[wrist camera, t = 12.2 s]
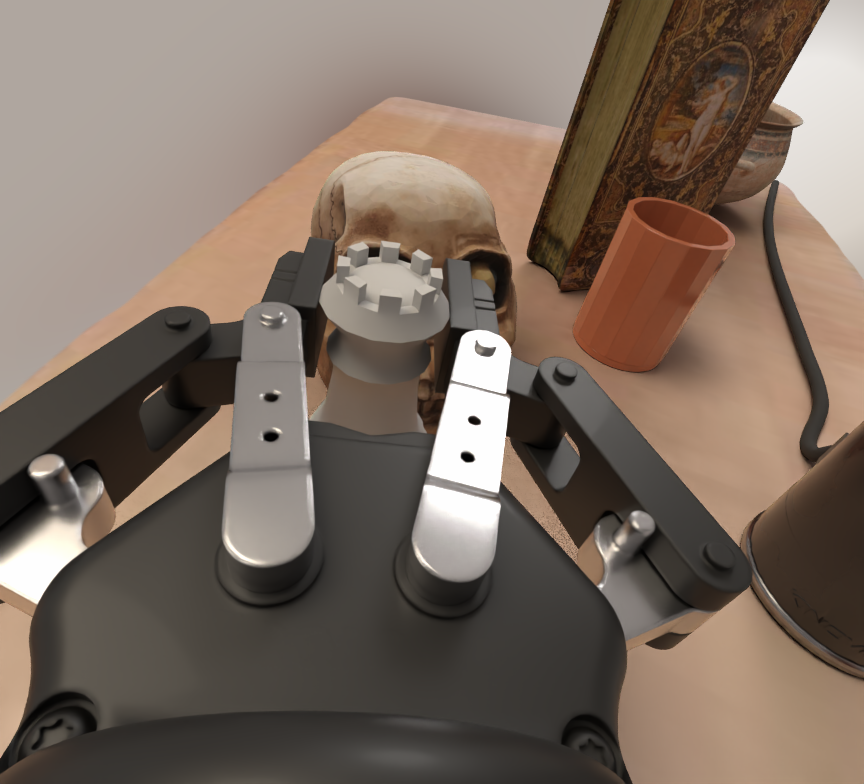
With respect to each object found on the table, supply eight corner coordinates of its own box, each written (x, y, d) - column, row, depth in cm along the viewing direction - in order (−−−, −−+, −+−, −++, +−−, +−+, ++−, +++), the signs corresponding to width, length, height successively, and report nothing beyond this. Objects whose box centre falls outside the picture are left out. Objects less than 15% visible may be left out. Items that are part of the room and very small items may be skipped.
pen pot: (600, 305, 46) (656, 190, 39) (675, 350, 43) (750, 233, 36) (555, 333, 42) (608, 208, 35) (634, 385, 39) (710, 260, 32)
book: (644, 249, 57) (793, -46, 40) (681, 276, 53) (860, -33, 36) (522, 261, 50) (639, -91, 33) (555, 293, 46) (704, -79, 29)
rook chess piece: (270, 454, 18) (259, 236, 12) (381, 410, 20) (412, 212, 15) (337, 558, 15) (359, 347, 10) (452, 495, 18) (520, 297, 12)
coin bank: (424, 482, 29) (460, 251, 20) (232, 350, 36) (202, 143, 28) (556, 370, 39) (615, 186, 31) (385, 285, 47) (396, 120, 38)
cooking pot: (599, 150, 80) (634, 59, 72) (717, 177, 81) (765, 90, 72) (626, 220, 62) (678, 108, 53) (779, 255, 62) (853, 150, 54)
